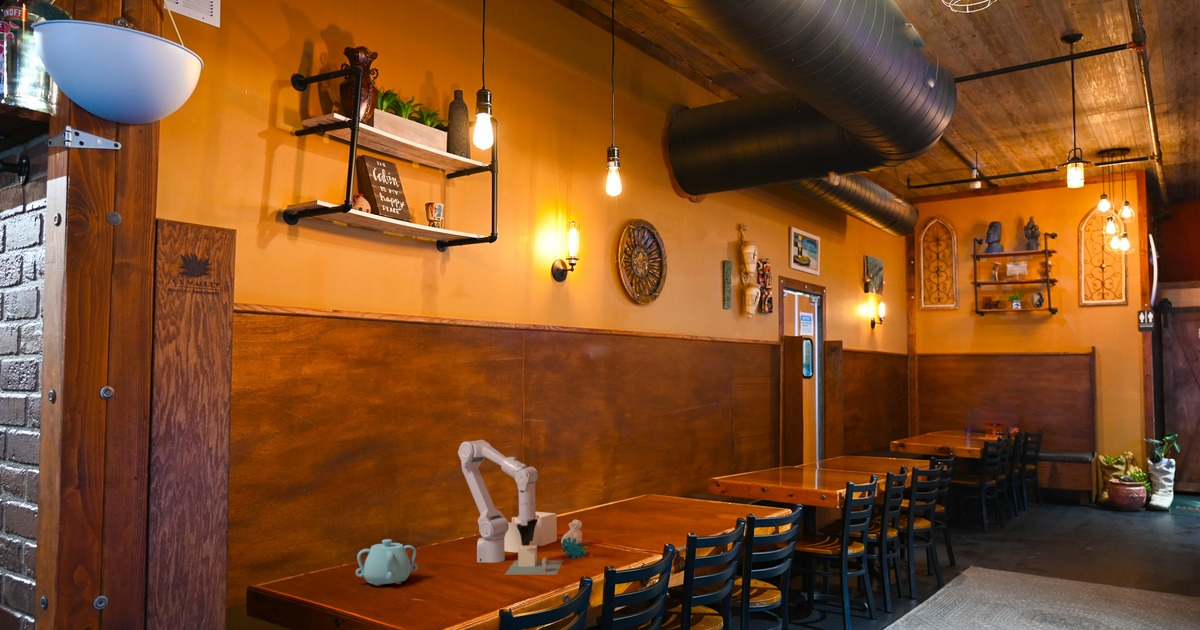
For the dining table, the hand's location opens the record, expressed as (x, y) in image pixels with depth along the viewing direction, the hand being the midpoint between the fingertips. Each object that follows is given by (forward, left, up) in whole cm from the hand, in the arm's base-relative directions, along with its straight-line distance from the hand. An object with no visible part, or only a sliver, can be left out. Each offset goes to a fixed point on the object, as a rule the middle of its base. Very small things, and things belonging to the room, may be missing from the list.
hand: (527, 543), depth 286 cm
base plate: (+3, -4, -8) cm, 10 cm away
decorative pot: (-43, -19, -9) cm, 48 cm away
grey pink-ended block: (+7, -9, -7) cm, 13 cm away
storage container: (-6, +38, -9) cm, 39 cm away
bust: (+12, +36, -9) cm, 39 cm away
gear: (+15, +13, -9) cm, 22 cm away
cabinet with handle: (0, 0, -7) cm, 7 cm away
